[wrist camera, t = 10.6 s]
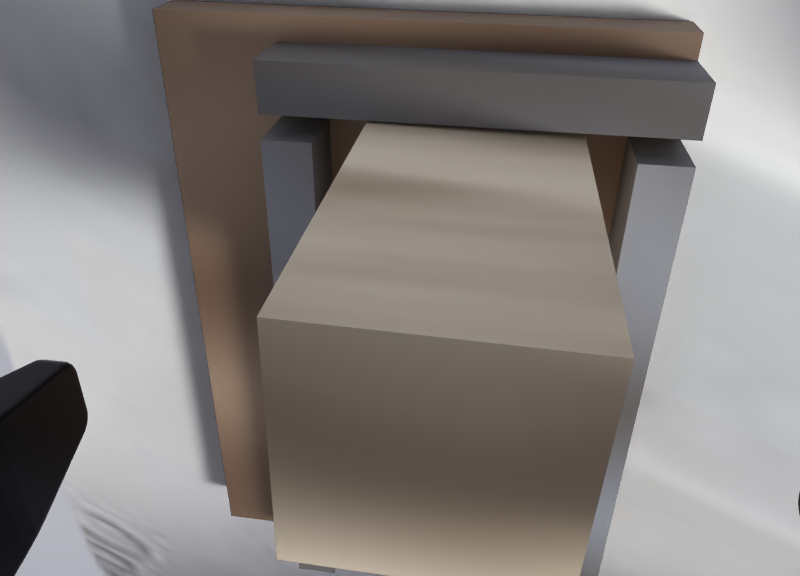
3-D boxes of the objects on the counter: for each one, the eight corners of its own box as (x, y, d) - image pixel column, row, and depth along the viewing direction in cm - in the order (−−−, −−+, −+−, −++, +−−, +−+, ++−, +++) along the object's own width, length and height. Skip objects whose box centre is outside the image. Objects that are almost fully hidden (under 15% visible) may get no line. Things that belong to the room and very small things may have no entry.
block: (551, 288, 16) (573, 602, 10) (376, 271, 17) (277, 559, 10) (580, 114, 14) (634, 358, 7) (379, 99, 15) (256, 316, 8)
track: (583, 532, 22) (590, 606, 19) (242, 490, 23) (213, 556, 21) (692, 21, 14) (723, 52, 12) (172, 0, 15) (116, 24, 13)
